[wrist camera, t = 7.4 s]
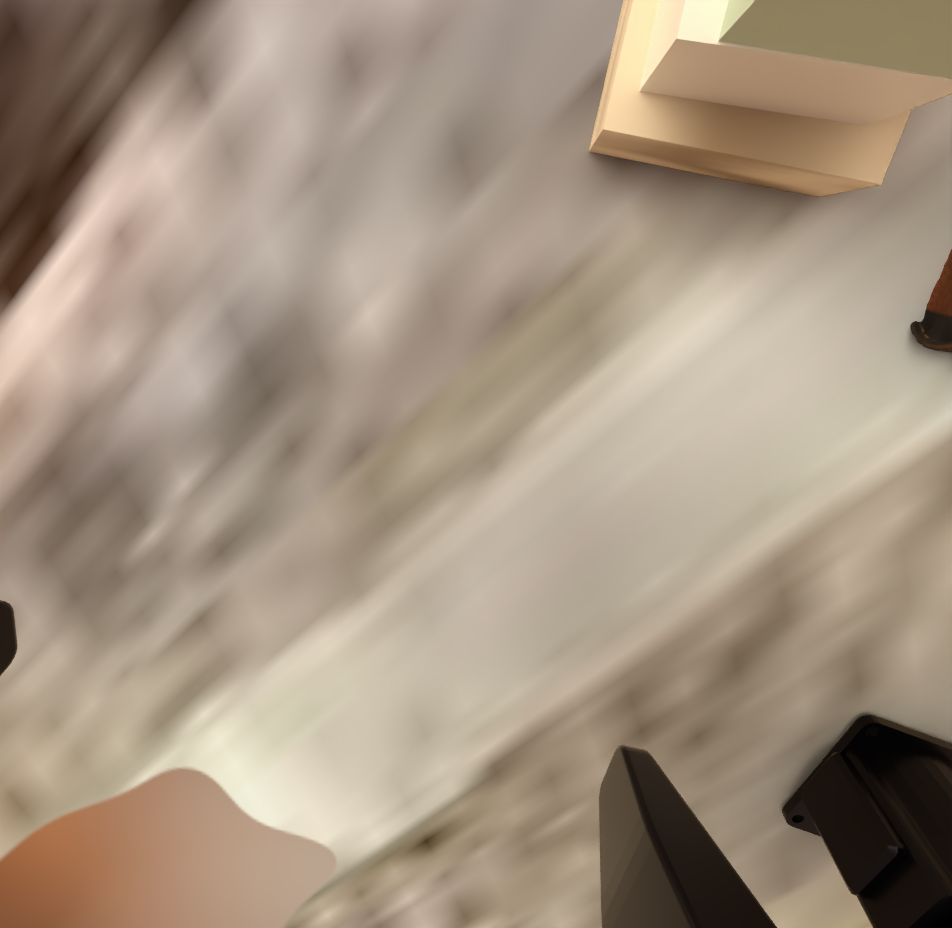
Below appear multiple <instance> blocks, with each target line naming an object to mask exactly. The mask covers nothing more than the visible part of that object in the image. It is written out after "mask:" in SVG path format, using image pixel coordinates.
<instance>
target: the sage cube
mask: <svg viewBox="0 0 952 928" xmlns="http://www.w3.org/2000/svg"><path fill="white" fill-rule="evenodd" d="M718 41H721V42H727V43H733V44H739V45H746V46H752V47H758V48H765V49H771V50H777V51H783V52H790V53H796V54H802V55H809V56H815V57H821V58H828V59H834V60H840V61H846V62H853V63H859V64H865V65H872V66H878V67H884V68H891V69H897V70H903V71H909V72H916V73H922V74H928V75H935V76H941V77H947V78H952V0H729V2H728V6H727V9H726V13H725V17H724V21H723V25H722V29H721V32H720V36H719V40H718Z"/></svg>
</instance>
